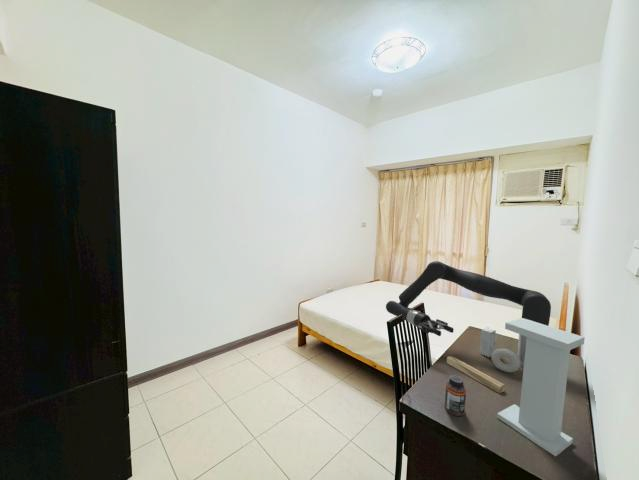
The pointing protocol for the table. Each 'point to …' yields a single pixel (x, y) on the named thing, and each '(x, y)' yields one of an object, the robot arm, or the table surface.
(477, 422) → the table surface
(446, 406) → the supplement bottle
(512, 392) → the table surface
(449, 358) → the beige block
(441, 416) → the table surface
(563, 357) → the stand
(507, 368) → the donut
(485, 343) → the skincare box
